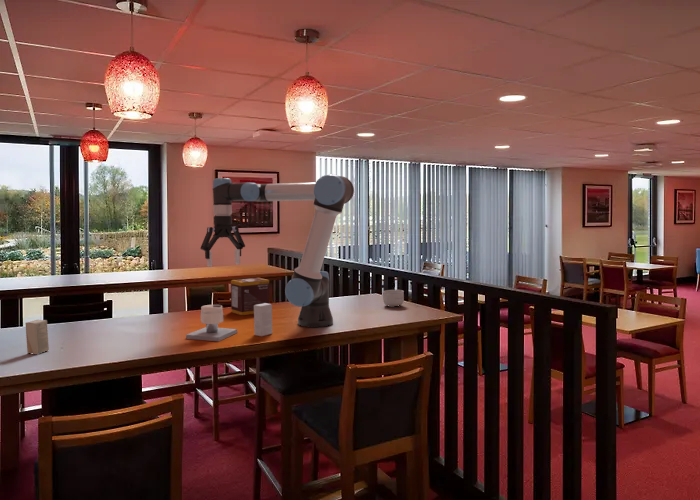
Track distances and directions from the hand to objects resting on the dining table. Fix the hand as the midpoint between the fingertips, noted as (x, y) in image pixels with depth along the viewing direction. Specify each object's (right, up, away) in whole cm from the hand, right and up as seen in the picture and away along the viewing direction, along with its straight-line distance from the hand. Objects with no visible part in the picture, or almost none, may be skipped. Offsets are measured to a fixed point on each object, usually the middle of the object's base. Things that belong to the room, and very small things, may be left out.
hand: (223, 265), depth 221 cm
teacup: (+76, -22, +46) cm, 92 cm away
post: (0, -25, -17) cm, 31 cm away
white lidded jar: (0, -21, -18) cm, 28 cm away
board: (0, -27, -17) cm, 32 cm away
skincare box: (+19, -27, -15) cm, 36 cm away
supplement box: (+6, -23, +30) cm, 38 cm away
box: (-54, -29, -42) cm, 74 cm away
